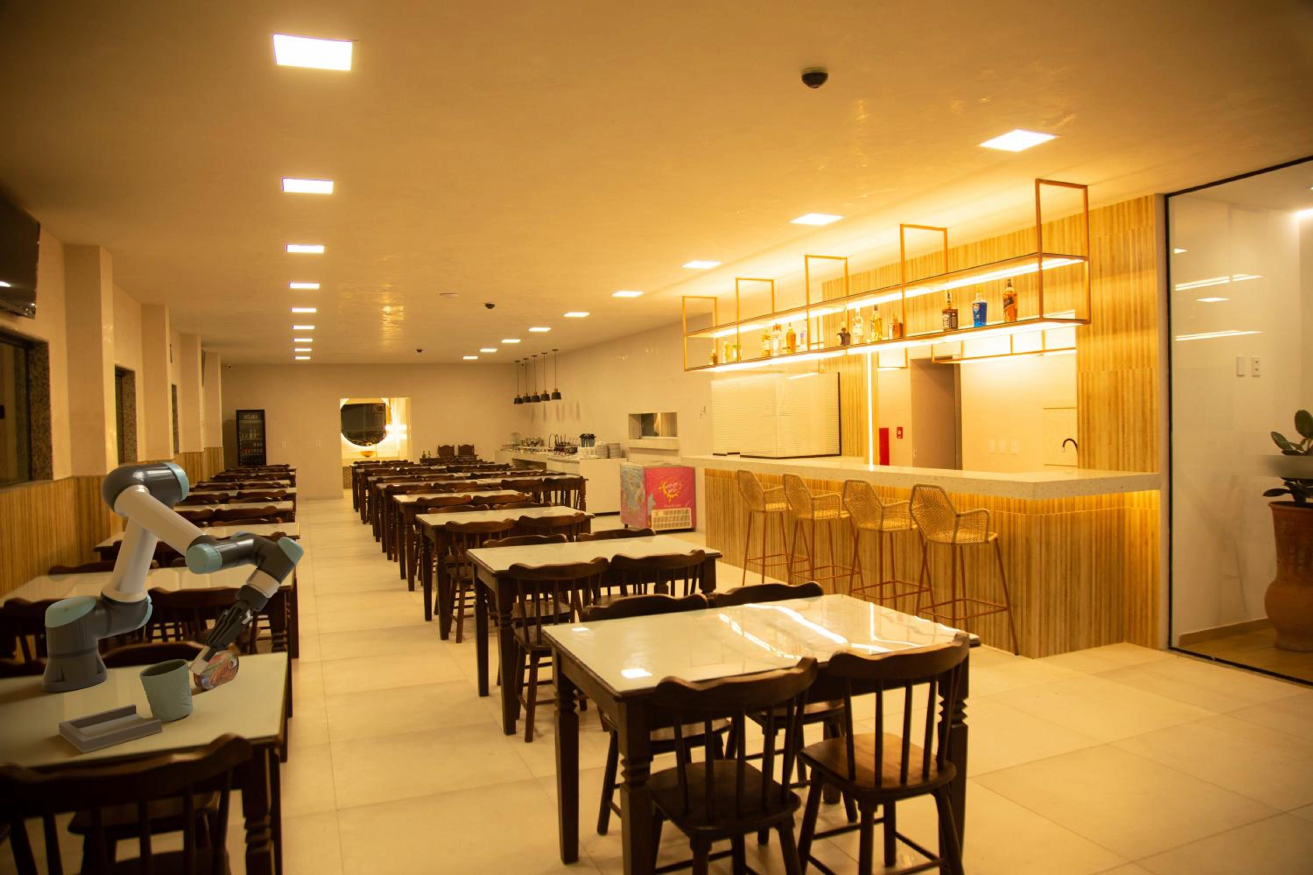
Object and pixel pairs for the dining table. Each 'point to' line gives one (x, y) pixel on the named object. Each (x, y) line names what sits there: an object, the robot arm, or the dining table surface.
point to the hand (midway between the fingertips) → (193, 671)
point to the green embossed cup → (168, 689)
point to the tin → (218, 670)
